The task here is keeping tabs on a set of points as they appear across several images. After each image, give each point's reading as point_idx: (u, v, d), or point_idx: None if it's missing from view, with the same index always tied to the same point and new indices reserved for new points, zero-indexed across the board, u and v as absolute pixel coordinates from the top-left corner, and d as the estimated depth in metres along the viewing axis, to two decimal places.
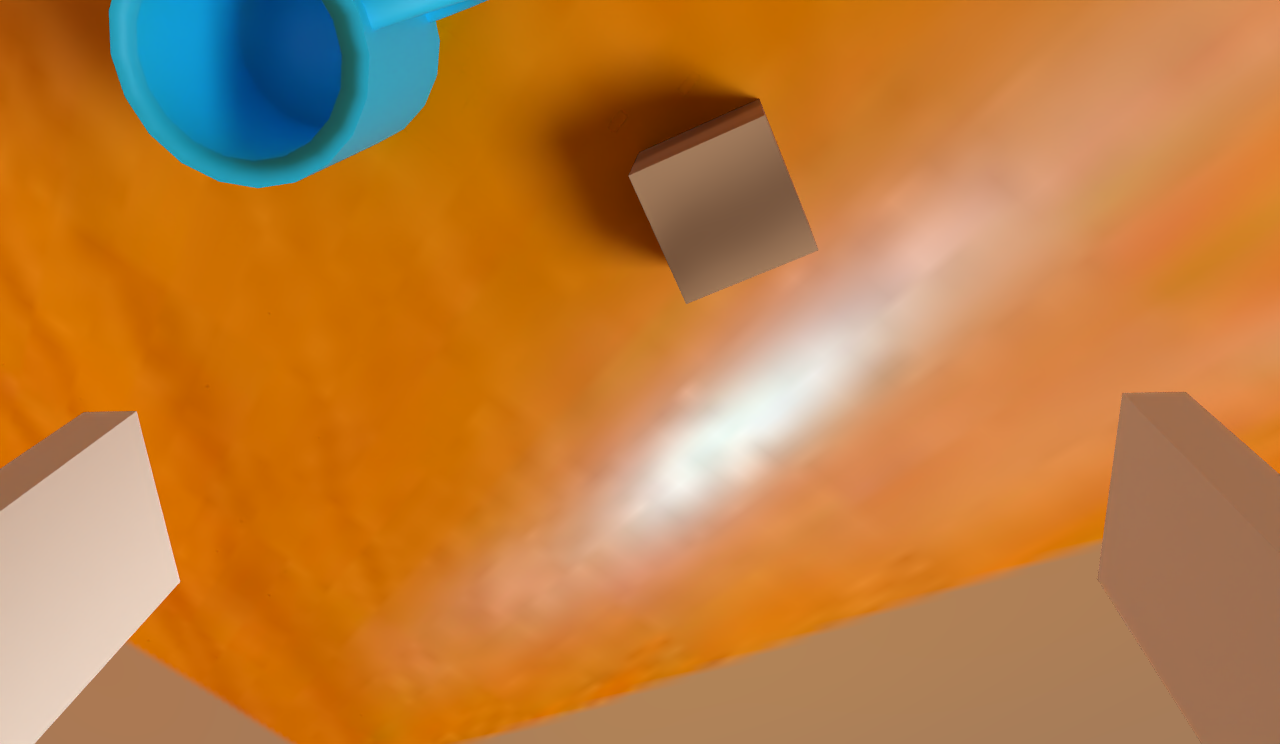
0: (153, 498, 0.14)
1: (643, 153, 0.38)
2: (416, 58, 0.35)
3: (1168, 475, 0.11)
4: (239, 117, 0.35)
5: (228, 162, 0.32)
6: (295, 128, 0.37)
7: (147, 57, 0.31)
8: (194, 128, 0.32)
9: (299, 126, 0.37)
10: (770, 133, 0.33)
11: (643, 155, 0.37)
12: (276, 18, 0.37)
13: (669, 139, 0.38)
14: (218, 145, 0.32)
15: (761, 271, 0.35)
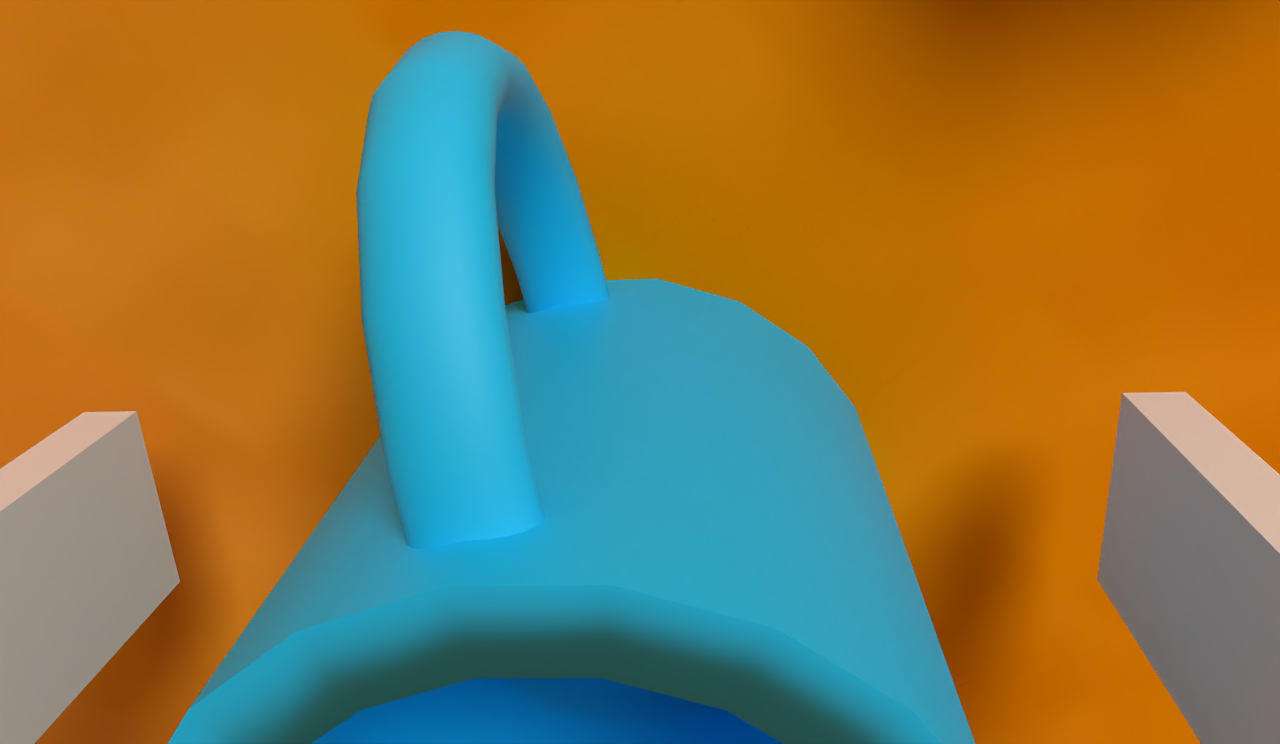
0: (153, 498, 0.14)
1: None
2: (685, 357, 0.12)
3: (1169, 475, 0.11)
4: None
5: None
6: None
7: None
8: None
9: None
10: None
11: None
12: None
13: None
14: None
15: None
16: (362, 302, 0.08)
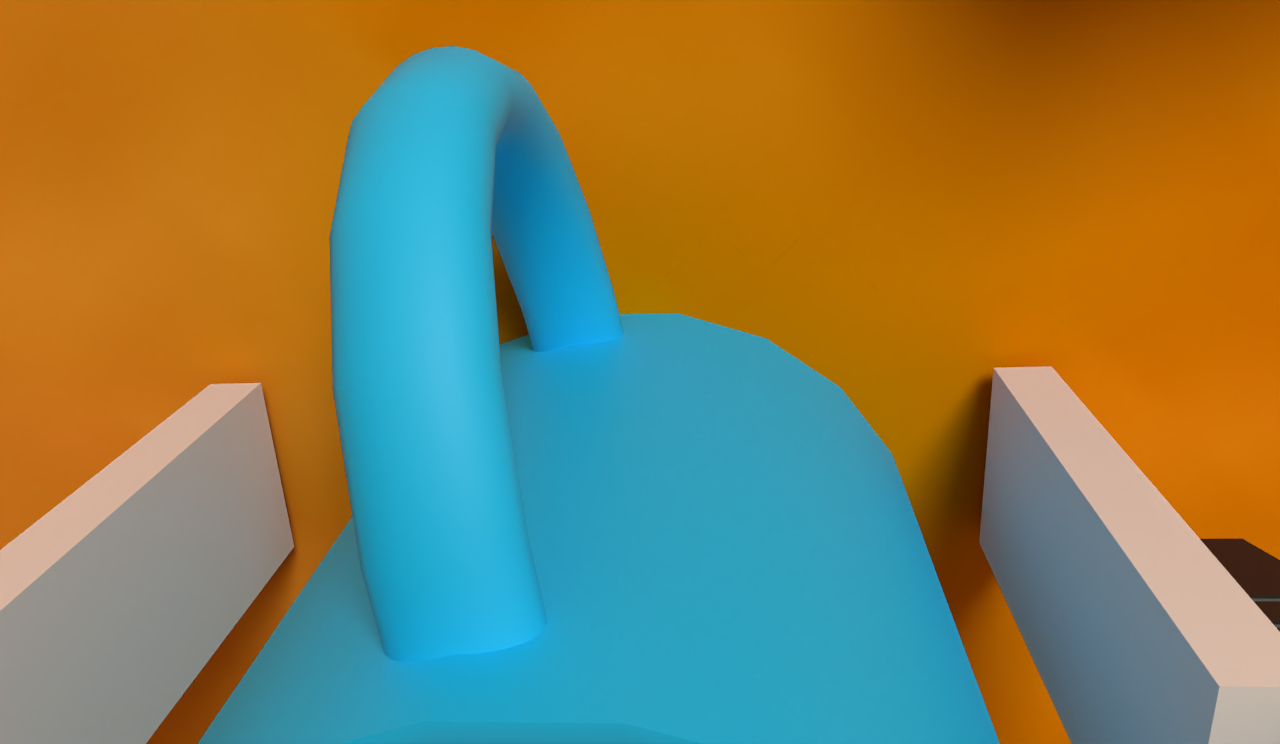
0: (274, 466, 0.15)
1: None
2: (709, 408, 0.11)
3: (1021, 440, 0.12)
4: None
5: None
6: None
7: None
8: None
9: None
10: None
11: None
12: None
13: None
14: None
15: None
16: (333, 369, 0.07)
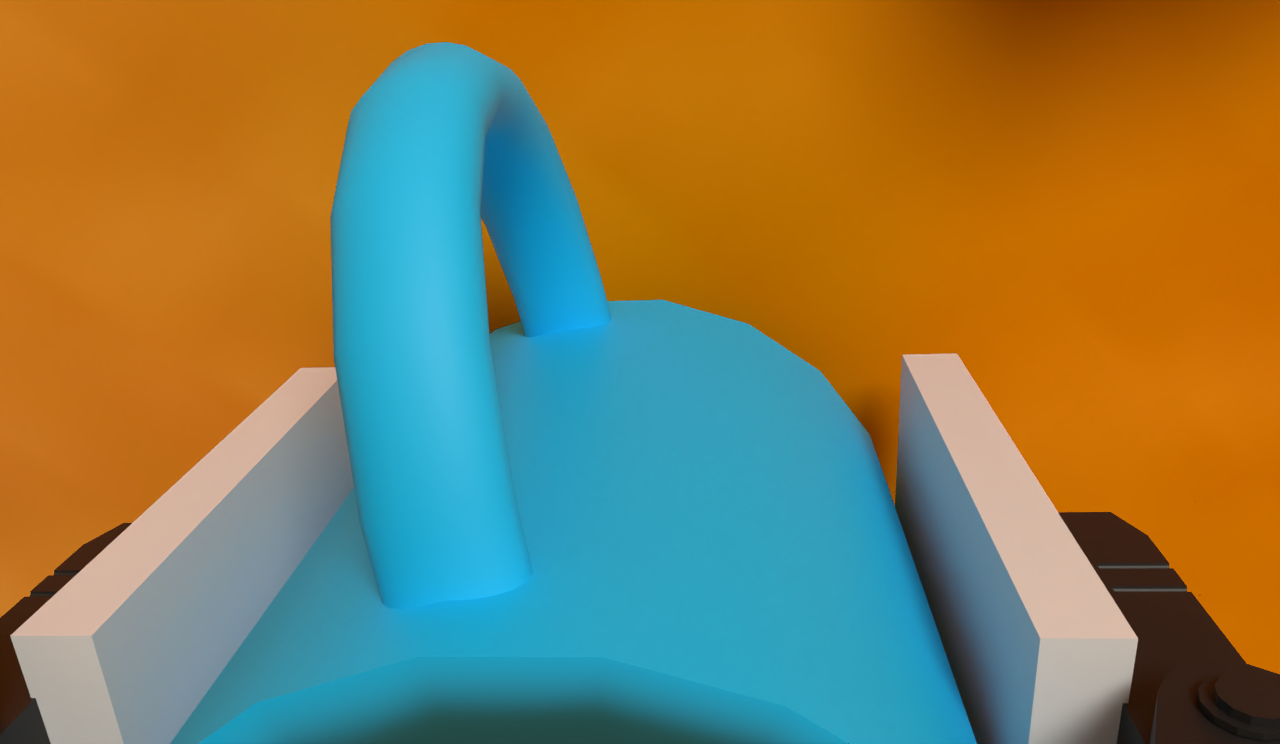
0: None
1: None
2: (690, 386, 0.11)
3: (920, 422, 0.13)
4: None
5: None
6: None
7: None
8: None
9: None
10: None
11: None
12: None
13: None
14: None
15: None
16: (334, 338, 0.08)
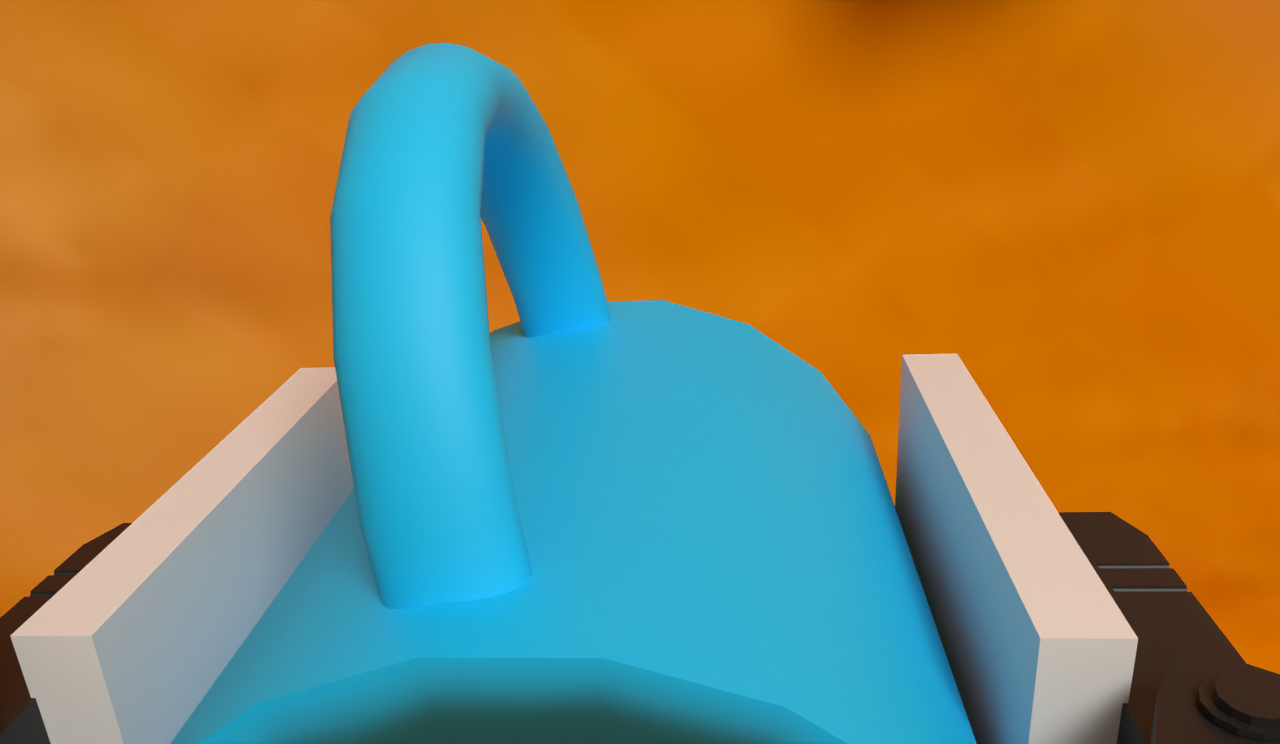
0: None
1: None
2: (690, 387, 0.11)
3: (920, 422, 0.13)
4: None
5: None
6: None
7: None
8: None
9: None
10: None
11: None
12: None
13: None
14: None
15: None
16: (334, 339, 0.08)
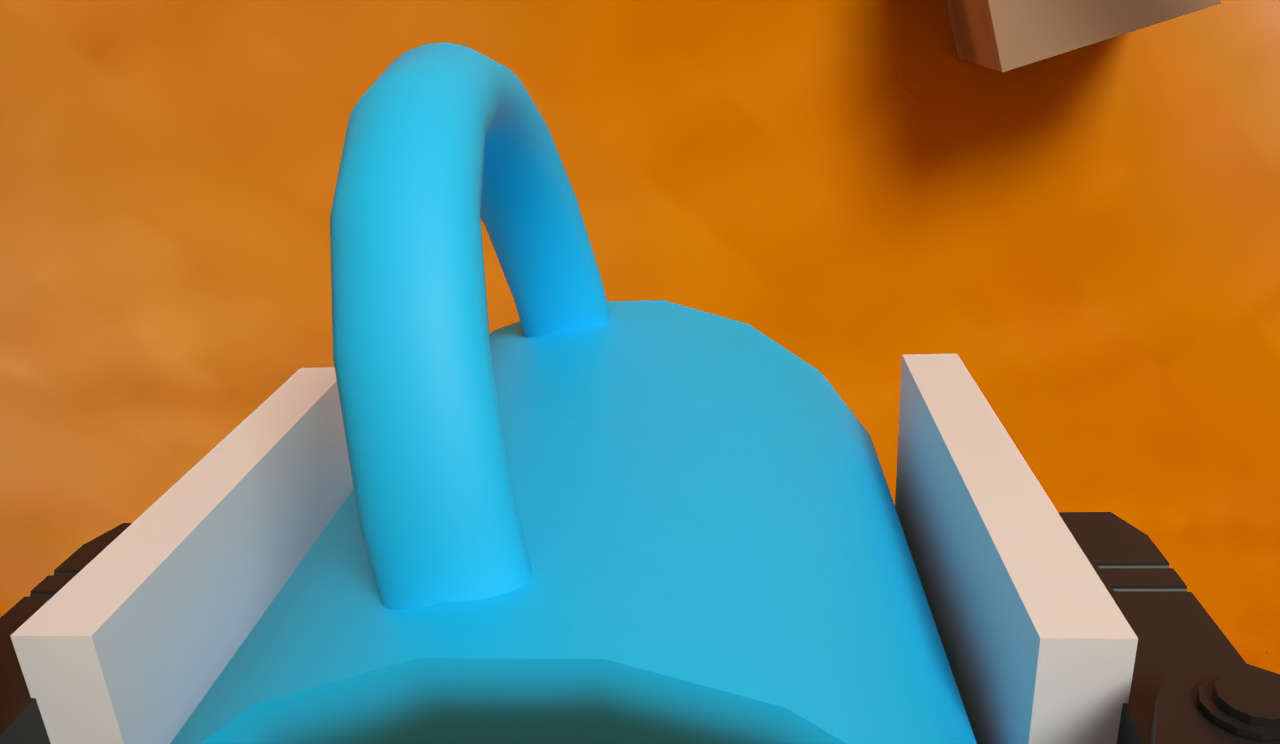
0: None
1: (963, 51, 0.28)
2: (690, 387, 0.11)
3: (920, 422, 0.13)
4: None
5: None
6: None
7: None
8: None
9: None
10: None
11: (967, 51, 0.27)
12: None
13: (949, 12, 0.28)
14: None
15: None
16: (334, 339, 0.08)
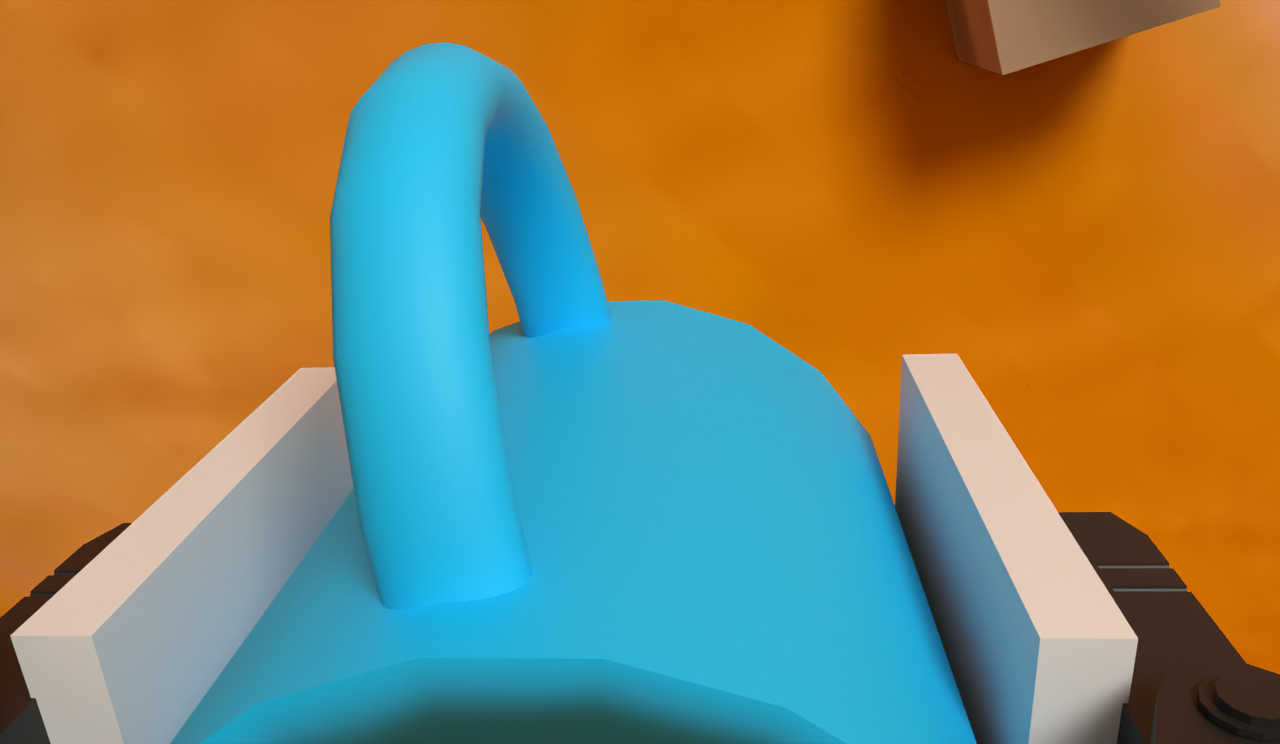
0: None
1: (963, 53, 0.28)
2: (690, 387, 0.11)
3: (920, 422, 0.13)
4: None
5: None
6: None
7: None
8: None
9: None
10: None
11: (967, 53, 0.27)
12: None
13: (949, 14, 0.28)
14: None
15: None
16: (334, 339, 0.08)
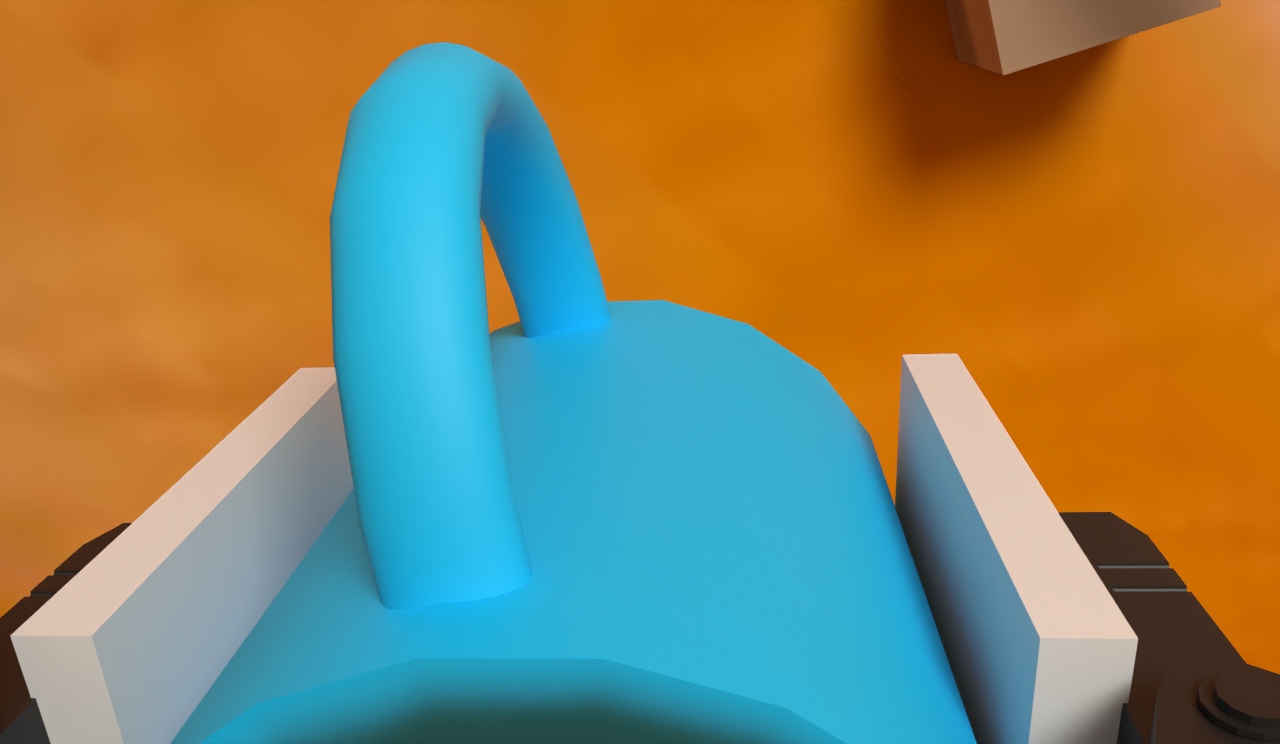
0: None
1: (963, 53, 0.28)
2: (690, 387, 0.11)
3: (920, 422, 0.13)
4: None
5: None
6: None
7: None
8: None
9: None
10: None
11: (967, 53, 0.27)
12: None
13: (949, 14, 0.28)
14: None
15: None
16: (334, 339, 0.08)
